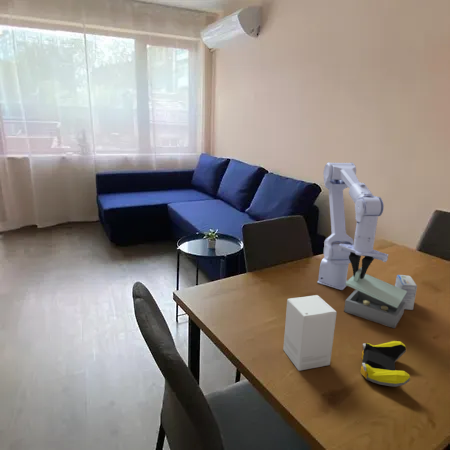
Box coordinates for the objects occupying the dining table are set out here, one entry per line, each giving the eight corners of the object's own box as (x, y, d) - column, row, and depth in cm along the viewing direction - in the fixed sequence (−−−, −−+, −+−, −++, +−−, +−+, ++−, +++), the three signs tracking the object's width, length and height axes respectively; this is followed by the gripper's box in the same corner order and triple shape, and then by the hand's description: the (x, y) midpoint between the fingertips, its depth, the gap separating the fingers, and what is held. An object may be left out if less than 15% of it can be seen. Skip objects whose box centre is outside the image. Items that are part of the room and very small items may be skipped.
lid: (344, 286, 113) (348, 273, 111) (356, 274, 122) (360, 262, 120) (396, 310, 105) (401, 297, 103) (405, 295, 114) (410, 283, 112)
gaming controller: (402, 358, 93) (361, 349, 97) (406, 340, 92) (364, 331, 95) (407, 399, 80) (359, 386, 83) (411, 378, 78) (362, 366, 82)
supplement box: (331, 365, 90) (338, 311, 86) (298, 372, 87) (304, 316, 83) (312, 344, 98) (318, 293, 94) (282, 349, 96) (286, 297, 91)
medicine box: (413, 310, 117) (417, 286, 114) (398, 308, 118) (402, 284, 115) (406, 299, 124) (410, 275, 122) (392, 297, 125) (396, 274, 122)
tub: (344, 311, 115) (345, 300, 114) (355, 298, 123) (357, 287, 122) (394, 328, 106) (396, 316, 105) (403, 313, 115) (405, 301, 114)
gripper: (336, 234, 112) (331, 274, 116) (386, 244, 104) (379, 288, 108) (344, 228, 118) (339, 267, 122) (392, 238, 109) (385, 280, 113)
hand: (358, 276), depth 115 cm, fingers closed on lid
